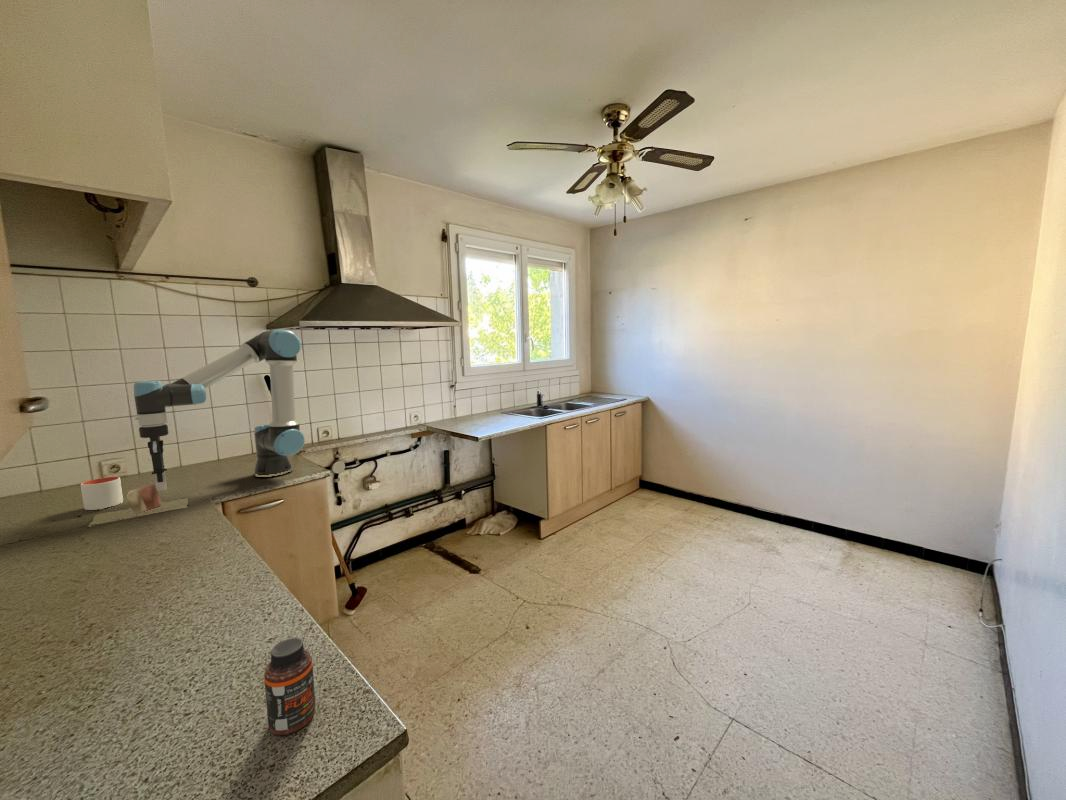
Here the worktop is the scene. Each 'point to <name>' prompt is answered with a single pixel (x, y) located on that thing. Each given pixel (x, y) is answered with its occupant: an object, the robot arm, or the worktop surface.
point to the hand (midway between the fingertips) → (161, 490)
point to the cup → (101, 493)
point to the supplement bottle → (289, 687)
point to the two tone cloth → (144, 499)
